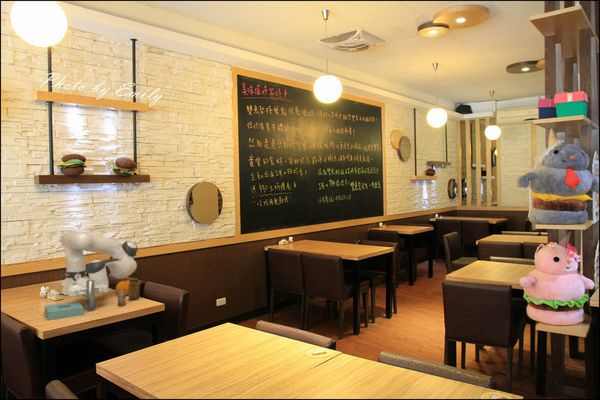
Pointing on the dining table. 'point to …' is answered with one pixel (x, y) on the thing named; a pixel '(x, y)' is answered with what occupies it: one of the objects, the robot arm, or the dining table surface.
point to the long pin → (90, 295)
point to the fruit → (123, 286)
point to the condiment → (134, 289)
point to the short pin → (121, 297)
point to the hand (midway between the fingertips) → (91, 292)
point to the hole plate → (63, 310)
